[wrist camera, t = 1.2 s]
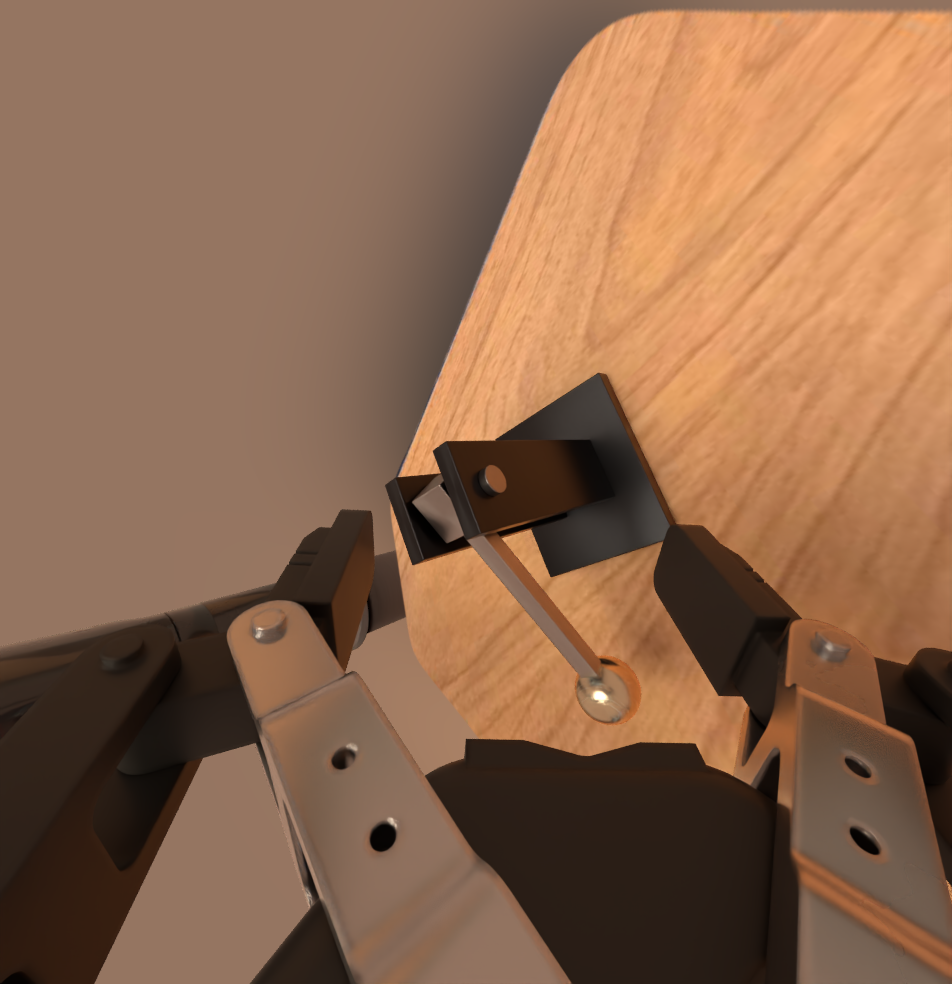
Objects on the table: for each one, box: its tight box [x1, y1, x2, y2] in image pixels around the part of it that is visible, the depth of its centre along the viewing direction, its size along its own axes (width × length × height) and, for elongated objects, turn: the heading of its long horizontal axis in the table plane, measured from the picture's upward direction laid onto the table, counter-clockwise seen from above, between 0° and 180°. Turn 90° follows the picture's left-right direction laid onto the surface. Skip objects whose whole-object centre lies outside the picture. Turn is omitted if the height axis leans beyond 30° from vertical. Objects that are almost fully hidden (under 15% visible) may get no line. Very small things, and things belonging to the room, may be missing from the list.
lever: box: [412, 474, 641, 725], centre depth 23 cm, size 17×4×4 cm, turn 27°
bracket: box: [385, 373, 676, 577], centre depth 26 cm, size 12×10×16 cm
